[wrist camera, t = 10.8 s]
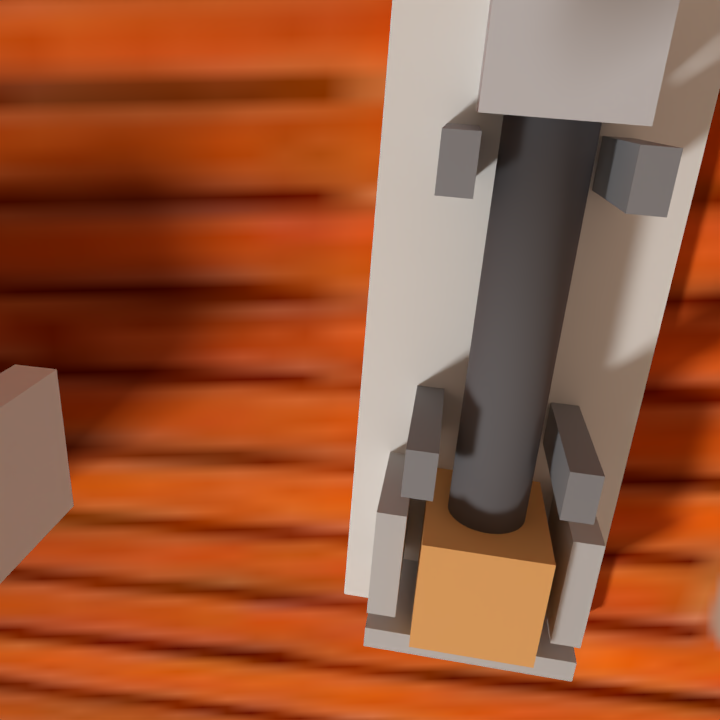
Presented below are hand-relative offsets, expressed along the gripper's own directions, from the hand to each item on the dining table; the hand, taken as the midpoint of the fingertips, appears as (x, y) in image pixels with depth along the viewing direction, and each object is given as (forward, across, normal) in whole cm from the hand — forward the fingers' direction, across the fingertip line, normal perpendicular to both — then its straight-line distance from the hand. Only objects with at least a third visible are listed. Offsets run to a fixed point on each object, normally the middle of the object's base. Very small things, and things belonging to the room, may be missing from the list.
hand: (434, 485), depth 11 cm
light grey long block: (+19, +3, -4) cm, 20 cm away
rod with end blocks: (+18, +3, -3) cm, 18 cm away
